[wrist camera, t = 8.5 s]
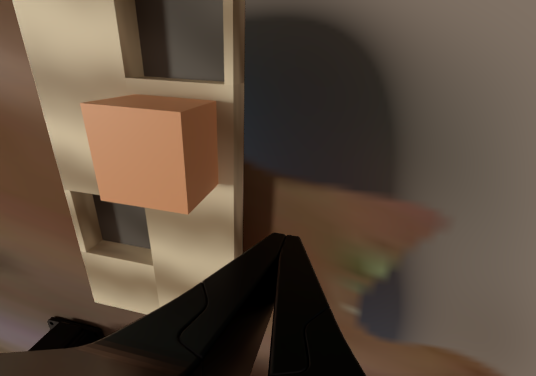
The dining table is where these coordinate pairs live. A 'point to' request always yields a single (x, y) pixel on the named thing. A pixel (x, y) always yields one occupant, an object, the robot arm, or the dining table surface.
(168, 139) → the orange block
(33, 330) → the dining table surface
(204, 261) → the trap board
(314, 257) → the dining table surface
